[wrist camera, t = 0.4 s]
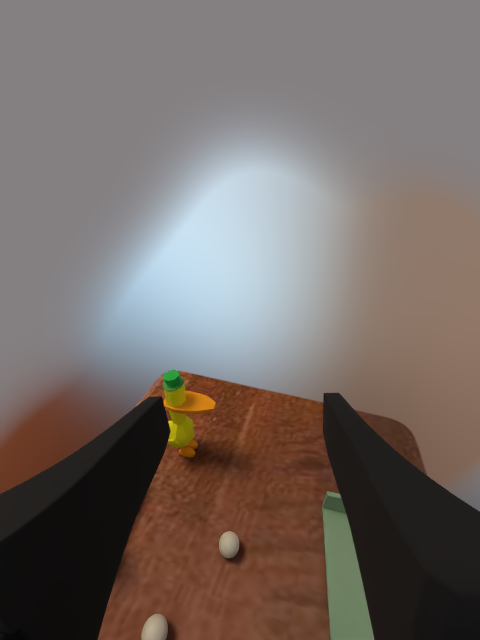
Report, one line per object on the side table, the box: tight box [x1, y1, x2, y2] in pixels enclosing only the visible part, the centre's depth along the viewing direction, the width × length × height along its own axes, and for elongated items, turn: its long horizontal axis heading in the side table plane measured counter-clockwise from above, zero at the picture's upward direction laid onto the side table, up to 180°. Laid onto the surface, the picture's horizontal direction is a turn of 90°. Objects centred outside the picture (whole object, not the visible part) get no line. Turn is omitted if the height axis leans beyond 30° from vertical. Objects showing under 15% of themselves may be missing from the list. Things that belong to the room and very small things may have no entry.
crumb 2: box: [219, 531, 239, 558], centre depth 23 cm, size 2×2×2 cm
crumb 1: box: [141, 614, 168, 640], centre depth 18 cm, size 2×2×2 cm
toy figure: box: [163, 370, 215, 457], centre depth 28 cm, size 7×4×12 cm, turn 81°
